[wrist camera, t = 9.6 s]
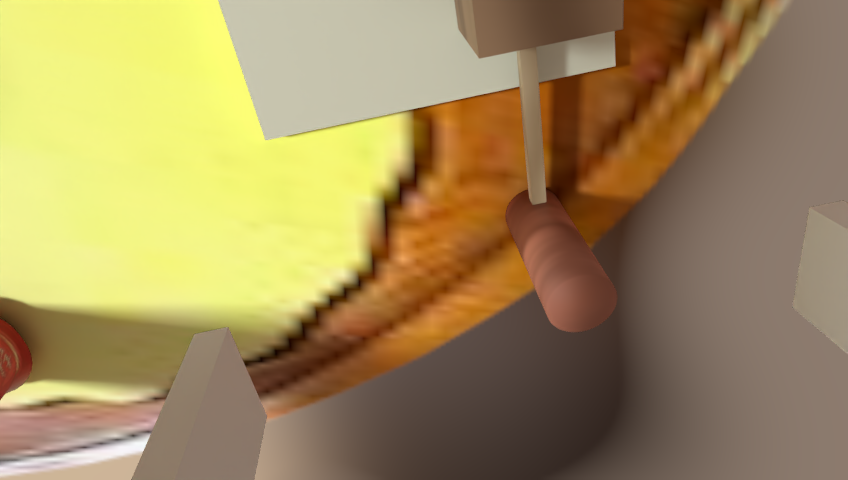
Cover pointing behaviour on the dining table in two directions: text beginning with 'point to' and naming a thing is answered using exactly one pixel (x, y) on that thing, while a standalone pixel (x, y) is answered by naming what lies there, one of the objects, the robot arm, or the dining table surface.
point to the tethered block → (537, 207)
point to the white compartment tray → (374, 59)
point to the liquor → (12, 359)
